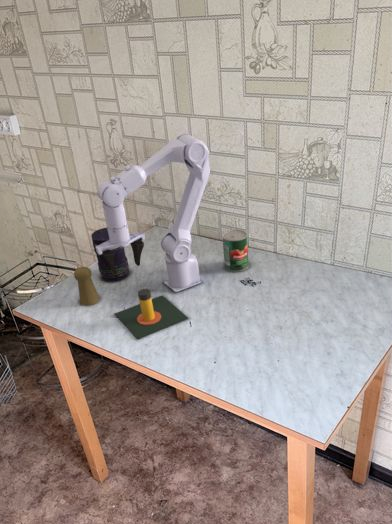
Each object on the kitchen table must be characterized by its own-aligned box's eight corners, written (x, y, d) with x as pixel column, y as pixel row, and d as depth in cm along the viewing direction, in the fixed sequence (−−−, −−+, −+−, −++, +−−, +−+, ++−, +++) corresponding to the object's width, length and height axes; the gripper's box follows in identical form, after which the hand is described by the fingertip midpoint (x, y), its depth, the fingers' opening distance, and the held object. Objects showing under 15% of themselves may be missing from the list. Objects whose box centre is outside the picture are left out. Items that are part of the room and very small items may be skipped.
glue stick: (150, 313, 148) (146, 287, 143) (157, 317, 145) (152, 292, 140) (140, 317, 146) (135, 292, 141) (146, 322, 144) (141, 296, 139)
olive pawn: (95, 305, 156) (87, 273, 149) (77, 305, 157) (68, 273, 150) (102, 295, 160) (94, 264, 154) (84, 295, 162) (76, 264, 155)
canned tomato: (232, 258, 171) (230, 228, 165) (253, 263, 167) (251, 232, 161) (219, 269, 166) (217, 237, 160) (240, 274, 162) (238, 242, 156)
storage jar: (136, 271, 171) (128, 229, 162) (117, 284, 165) (108, 242, 156) (113, 265, 176) (104, 225, 167) (94, 279, 170) (84, 237, 161)
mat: (162, 296, 156) (162, 294, 156) (188, 318, 144) (188, 317, 144) (114, 314, 150) (114, 312, 150) (137, 339, 139) (137, 337, 138)
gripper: (98, 237, 137) (108, 281, 145) (146, 222, 142) (153, 265, 150) (89, 229, 142) (99, 272, 150) (135, 214, 147) (143, 257, 155)
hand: (126, 268), depth 151 cm, fingers open, 7 cm apart
